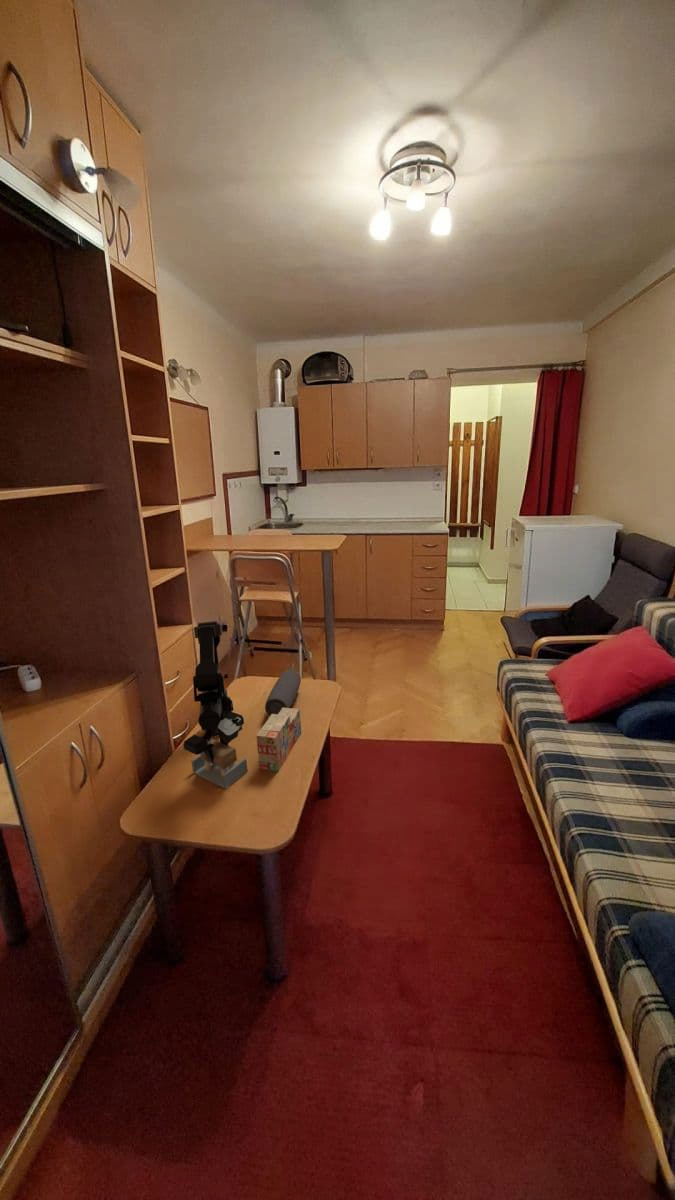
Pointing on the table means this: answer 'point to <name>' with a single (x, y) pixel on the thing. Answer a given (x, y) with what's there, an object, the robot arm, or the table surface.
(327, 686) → the table surface
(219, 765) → the brown rectangular block
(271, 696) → the bluetooth speaker
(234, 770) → the cradle
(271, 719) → the stack of blocks
